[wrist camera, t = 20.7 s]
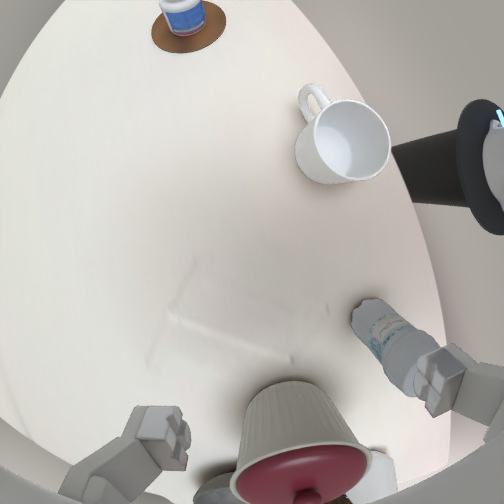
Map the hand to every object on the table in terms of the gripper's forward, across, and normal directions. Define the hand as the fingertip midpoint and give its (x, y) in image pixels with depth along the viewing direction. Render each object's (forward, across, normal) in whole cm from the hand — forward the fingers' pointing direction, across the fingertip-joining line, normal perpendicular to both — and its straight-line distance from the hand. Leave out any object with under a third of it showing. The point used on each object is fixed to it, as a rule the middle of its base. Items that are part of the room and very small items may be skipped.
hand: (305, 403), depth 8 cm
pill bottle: (+29, +4, -33) cm, 44 cm away
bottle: (+28, -14, +14) cm, 34 cm away
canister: (+28, 0, +28) cm, 39 cm away
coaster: (+29, +5, -33) cm, 44 cm away
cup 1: (+29, -10, -12) cm, 33 cm away
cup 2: (+27, -15, +54) cm, 63 cm away
